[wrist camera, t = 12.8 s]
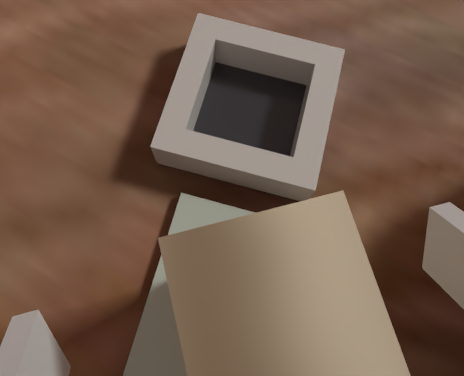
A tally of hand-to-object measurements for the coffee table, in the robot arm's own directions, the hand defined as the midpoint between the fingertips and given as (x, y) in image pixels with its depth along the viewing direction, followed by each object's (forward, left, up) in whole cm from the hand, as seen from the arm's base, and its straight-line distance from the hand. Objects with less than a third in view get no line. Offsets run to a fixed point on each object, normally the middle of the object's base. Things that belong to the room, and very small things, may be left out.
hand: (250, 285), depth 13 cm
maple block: (+1, +1, -7) cm, 8 cm away
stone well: (-10, -2, -8) cm, 13 cm away
